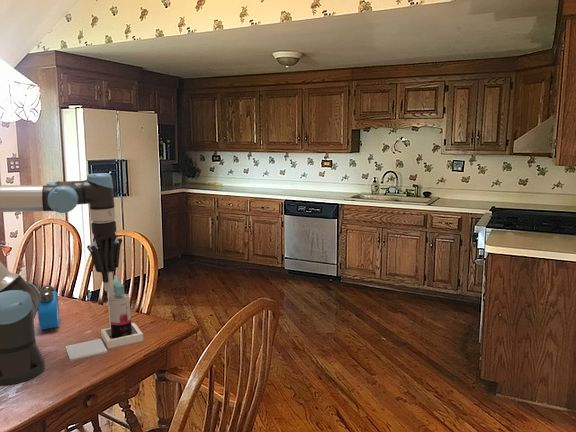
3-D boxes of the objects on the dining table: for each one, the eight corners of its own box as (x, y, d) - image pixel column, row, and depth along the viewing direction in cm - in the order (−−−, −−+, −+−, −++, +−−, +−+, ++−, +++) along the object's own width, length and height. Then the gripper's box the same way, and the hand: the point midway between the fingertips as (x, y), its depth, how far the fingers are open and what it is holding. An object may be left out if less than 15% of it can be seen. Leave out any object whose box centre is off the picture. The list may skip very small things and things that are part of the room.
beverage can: (130, 342, 163) (127, 299, 161) (110, 343, 162) (106, 300, 160) (133, 334, 170) (130, 292, 167) (114, 335, 169) (111, 294, 166)
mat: (70, 361, 150) (69, 359, 150) (65, 347, 159) (65, 346, 159) (107, 352, 155) (107, 350, 155) (100, 340, 165) (100, 338, 165)
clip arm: (115, 296, 161) (114, 287, 160) (105, 284, 173) (104, 276, 173) (126, 294, 163) (125, 285, 162) (115, 283, 175) (115, 275, 174)
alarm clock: (58, 332, 171) (54, 292, 169) (39, 335, 169) (35, 294, 166) (60, 320, 183) (56, 281, 181) (41, 322, 181) (37, 284, 178)
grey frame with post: (108, 348, 158) (104, 302, 156) (97, 329, 174) (94, 287, 171) (143, 340, 164) (140, 296, 161) (130, 323, 179) (127, 282, 177)
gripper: (95, 225, 150) (102, 298, 154) (126, 218, 162) (132, 286, 166) (78, 223, 153) (85, 295, 157) (110, 217, 165) (115, 283, 169)
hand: (109, 290), depth 162 cm, fingers closed
